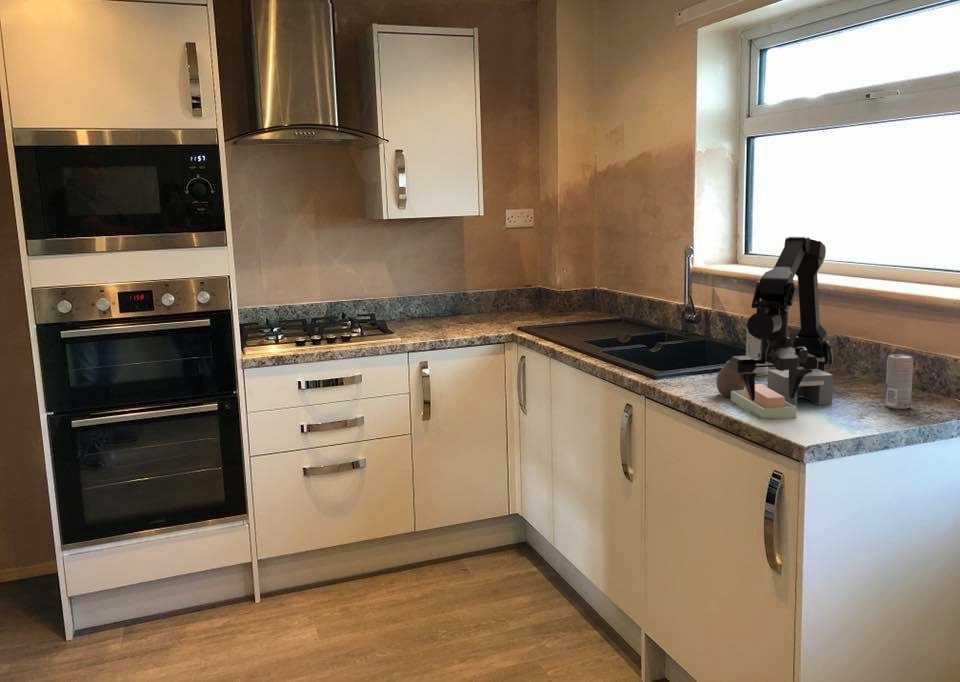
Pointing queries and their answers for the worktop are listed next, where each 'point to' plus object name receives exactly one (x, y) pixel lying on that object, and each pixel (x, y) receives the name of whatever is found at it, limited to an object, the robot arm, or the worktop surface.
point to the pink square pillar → (766, 397)
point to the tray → (760, 412)
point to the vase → (729, 381)
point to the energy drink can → (754, 352)
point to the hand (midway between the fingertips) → (772, 399)
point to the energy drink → (899, 381)
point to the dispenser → (803, 386)
